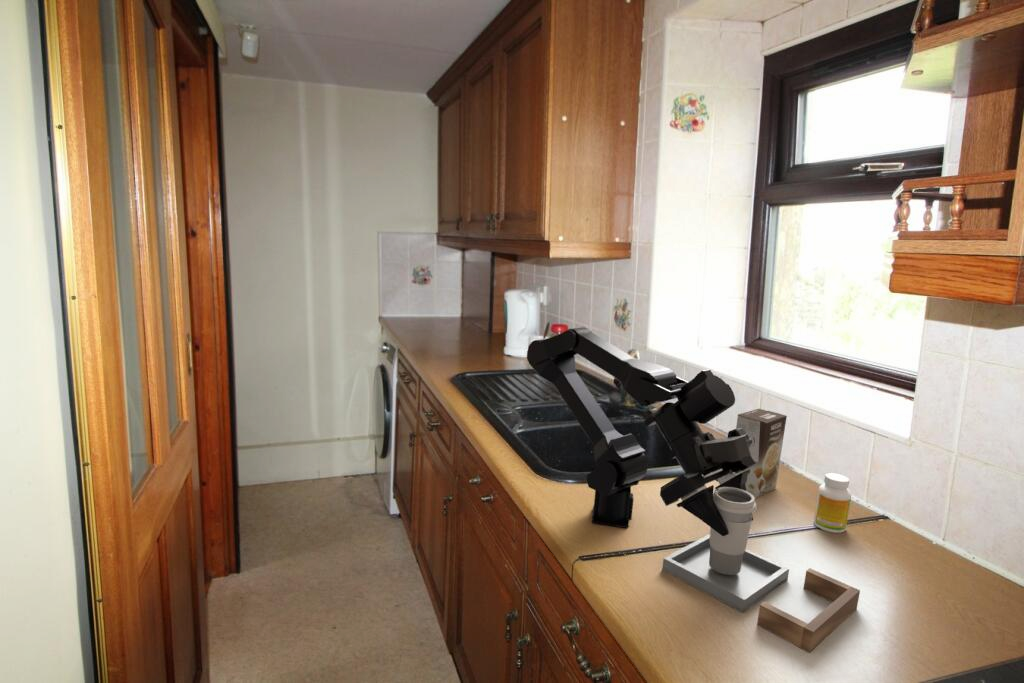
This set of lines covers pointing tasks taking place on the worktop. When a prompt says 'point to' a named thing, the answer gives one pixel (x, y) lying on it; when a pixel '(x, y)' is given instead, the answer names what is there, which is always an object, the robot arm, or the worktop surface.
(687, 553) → the tray
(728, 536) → the cup
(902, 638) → the worktop surface
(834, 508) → the supplement bottle
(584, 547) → the worktop surface
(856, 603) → the cubby
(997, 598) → the worktop surface
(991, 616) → the worktop surface
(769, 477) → the coffee box
